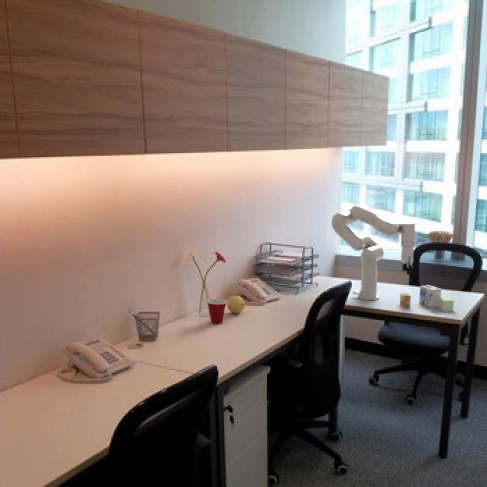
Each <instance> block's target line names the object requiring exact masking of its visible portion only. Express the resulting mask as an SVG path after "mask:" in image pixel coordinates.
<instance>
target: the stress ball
mask: <svg viewBox="0 0 487 487" xmlns="http://www.w3.org/2000/svg"><path fill="white" fill-rule="evenodd" d="M245 306H246V305H245V300H244V298H243V297H242V296H239V295H233V296H231V297H229V298H228V300H227V303H226V307H227V309H228V310H229V312H230V313H232V314H234V315H238V314H239V313H241V312H243V310H244V309H245Z"/></svg>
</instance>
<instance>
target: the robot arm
mask: <svg viewBox="0 0 487 487" xmlns="http://www.w3.org/2000/svg"><path fill="white" fill-rule="evenodd" d="M358 221H360V222H362V223H365V224H367V225H369V226H371V227H372V228H373V229H374V230H375V231H377V232H380V233H381V234H383V235H387V236H397V235H401V236H400V238H401V239H400V246H401V254H400V255H401V256H400V261H401V263H402V272H406V274H407V275H413V268H414V267H413V263H414V247H415V246H416V245H415V244H416V243H415V242H416V241H415V238H416V236H415V235H416V229H415V228H416V225H415V223H414V222H409V221H408V222H402V221H392V222H390V221H387V220H385V219H383V218H381V217H380V216H379V213H378V212H376V211H374V210H371V209H370V208H369V206H368V205H366V204H364V203H363V204H362V203H361V204H356V205H354V206H352V207H351V209H348V210H344V211H339V212H337V213H335V214H334V215H333V216H332V219H331V227H332V229H333V232H335V233H336V234H337V236H338V237H340V238H341V239H342V240H343V241H344V242H345V243H346V244H347V245H348V246H349V247H350V248H351V249H352V250H354V251H355V252H359V251H361V253H360V263H361V276H360V277H361V278H360V279H361V282H360V284H361V286H360V289H359V290H353V291H352V294H354V295H357V297H358V299H360V300H364V301H376V300H379V299H380V296H379V295H378V294H377V292H378V290H377V289H378V264H377V262H378V261H380V260H382V259H383V257H384V255H385V252H384V250H383V248H382V247H381V246H380V245H379V243H377V242H376V241H375V240H374V239H373V238H372V237H370V236H369V235H368V234H359V233H357V232H356V231H354V229H352V227H349V226H348V225H350V224H353V223H355V222H358Z"/></svg>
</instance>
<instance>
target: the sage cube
mask: <svg viewBox="0 0 487 487" xmlns="http://www.w3.org/2000/svg"><path fill="white" fill-rule="evenodd" d="M454 303H455V300H454V299H452V298H450V297H441V298H439V304H438V307H437V308H438V309H440V310H441V311H442V310H443V312H445V311H448V310H449V311H450V310H453V311H454ZM449 311H448V312H449Z"/></svg>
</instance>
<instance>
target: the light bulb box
mask: <svg viewBox="0 0 487 487" xmlns="http://www.w3.org/2000/svg"><path fill="white" fill-rule="evenodd" d="M439 298H442V288H440V287H437V286H434V285H430V284H426V285H420V286H419V301H418V303H419V304H420V305H423V306H425V307H429V308H438V304H439Z"/></svg>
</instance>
